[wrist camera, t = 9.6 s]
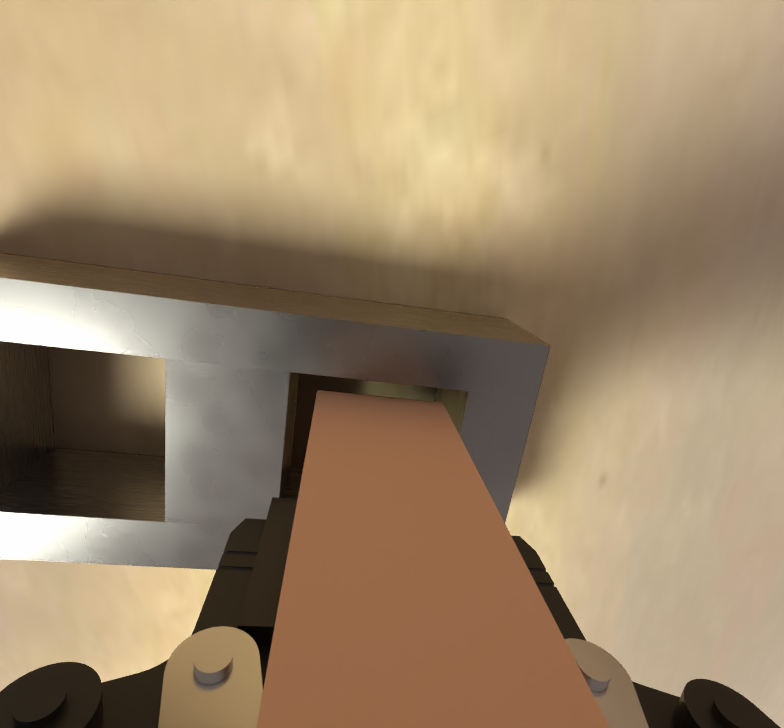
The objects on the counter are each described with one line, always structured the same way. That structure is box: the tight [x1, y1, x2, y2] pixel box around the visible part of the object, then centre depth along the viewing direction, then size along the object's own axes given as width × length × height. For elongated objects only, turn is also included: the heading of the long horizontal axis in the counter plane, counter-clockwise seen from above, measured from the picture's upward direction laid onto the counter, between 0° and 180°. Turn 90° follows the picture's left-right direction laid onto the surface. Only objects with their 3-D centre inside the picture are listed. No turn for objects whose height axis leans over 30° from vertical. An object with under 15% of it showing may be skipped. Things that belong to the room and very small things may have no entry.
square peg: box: [256, 390, 610, 728], centre depth 9 cm, size 4×4×12 cm
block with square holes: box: [0, 253, 550, 570], centre depth 16 cm, size 19×9×4 cm, turn 82°
